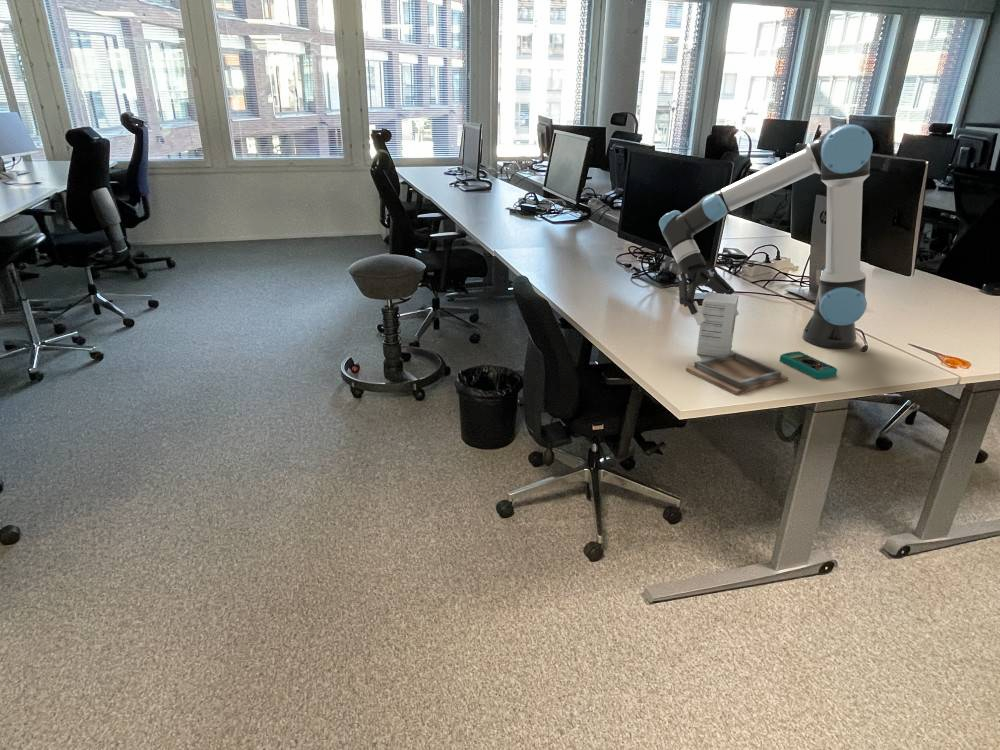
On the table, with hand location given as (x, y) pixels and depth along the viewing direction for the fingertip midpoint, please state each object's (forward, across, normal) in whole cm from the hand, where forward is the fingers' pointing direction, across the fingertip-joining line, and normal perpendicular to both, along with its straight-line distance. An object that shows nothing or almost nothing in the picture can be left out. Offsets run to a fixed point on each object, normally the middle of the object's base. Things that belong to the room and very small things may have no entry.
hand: (718, 319), depth 186 cm
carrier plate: (+18, +8, +4) cm, 20 cm away
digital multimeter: (+23, -14, +7) cm, 28 cm away
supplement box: (+7, 0, -8) cm, 10 cm away
